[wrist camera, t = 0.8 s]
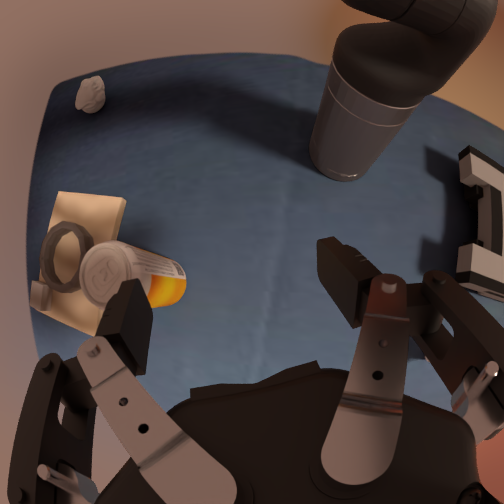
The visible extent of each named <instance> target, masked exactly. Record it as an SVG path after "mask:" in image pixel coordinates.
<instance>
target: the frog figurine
mask: <svg viewBox="0 0 504 504" xmlns="http://www.w3.org/2000/svg"><path fill="white" fill-rule="evenodd" d="M104 87H105V86H104V83H103V81H102V79H101V78H100V77H99V76H95V77H92V78H89V79H85V80H83V81H82V82H81V86H80V89H79V91H78V93H77V97H76V103H75V106H76V108H77V109H78V110H80V109H82V110H83V111H84V112H86V113H95V112H97V111H99V110H100V109H101V108H102V107H103V105H104V103H105V97H106V96H105V92H104V91H103V90H104V89H105V88H104Z"/></svg>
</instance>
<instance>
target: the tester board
mask: <svg viewBox="0 0 504 504" xmlns="http://www.w3.org/2000/svg"><path fill="white" fill-rule="evenodd" d="M125 205H126V200H124V199H123V198H120V197H111V196H102V195H92V194H82V193H71V192H60V191H59V192H58V195H57V199H56V202H55V206H54V209H53V213H52V217H51V220H50V224H49V229H48V233H47V235H46V237H45V238H44V240H43V242H42V247H41V252H40V257H39V261H40V268H41V269H40V275H39V281H32V286H31V295H30V305H29V306H31V307H33V308H35V309H36V310H38V311H40V312H42V313H43V314H45V315H47V316H49V317H52V318H54V319H56V320H58V321H60V322H62V323H64V324H66V325H68V326H71V327H73V328H75V329H77V330H80V331H82V332H84V333H87V334H89V335H92V336H94V337H95V334H96V331H97V328H98V325H99V323H100V320H101V317H102V315H103V312H104V311H103V310H101V309H99V308H97V307H96V306H94V305H93V304H91V303H90V302H89V301H88V300H87V298H86V297H85V296H84V294H83V292H82V289H81V286H80V279H79V273H80V266H81V263H82V260H83V258H84V256H85V255H86V253H87V252H88V251H89V250H90V249H91V248H92V247H93V246H95V245H97V244H100V243H103V242H105V241H109V240H117V236H118V232H119V228H120V224H121V220H122V216H123V212H124V208H125Z"/></svg>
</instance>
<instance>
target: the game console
mask: <svg viewBox="0 0 504 504" xmlns="http://www.w3.org/2000/svg"><path fill="white" fill-rule="evenodd" d="M458 156H459V169H460V182H462V183H464V195H465V200H466V201H468V202H469V207H470V208H472V209H474V210H476V211H478V239H474V240H471V241H468V242H464V243H463V246H461V247H459V251H458V261H457V270H456V277H455V280H456V281H457V282H458V283H459V284H460V285H461V286H463V287H466V288H469V289H472V290H475V291H478V294H480V295H483V296H486V297H490V298H493V299H496V300H499V301H502V302H504V167H502V166H501V165H499V164H498V163H496V162H495V161H494V160H492V159H491V158H489V157H488V156H486V155H485V154H483V153H481V152H480V151H478V150H477V149H475V148H473V147H472V146H470V145H469V146H467V147H466V148H465V149H464V150H462V151H461V152H460V153H459V154H458Z"/></svg>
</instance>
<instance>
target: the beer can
mask: <svg viewBox="0 0 504 504" xmlns="http://www.w3.org/2000/svg"><path fill="white" fill-rule="evenodd" d="M135 278H138V279H139V280H140V282H141V284H142V286H143V289H144V291H145V293H146V296H147V298H148V300H149V303H150V305H151V308H154V307H161V306H168V305H172V304H174V303H176V302H177V301H178V300H179V299H180V298H181V297H182V296H183V294H184V292H185V288H186V276H185V273H184V271H183V269H182V267H181V266H180V265H179V264H178V263H177V262H175V261H174V260H171V259H169V258H166V257H163V256H160V255H157V254H154V253H151V252H148V251H145V250H143V249H140V248H137V247H134V246H131V245H129V244H126V243H123V242H120V241H116V240H109V241H105V242H103V243H100V244H97V245H95V246H93V247H92V248H91V249H90V250H89V251H88V252H87V253H86V255H85V256H84V258H83V260H82V263H81V266H80V273H79V279H80V286H81V289H82V292H83V294H84V296H85V297H86V298H87V300H88V301H89V302H90V303H91V304H93V305H94V306H96V307H97V308H99V309H101V310H103V311H105V307H106V304H107V302H108V301H109V299H110V298H111V297H112V296H113V295H114V294H117V292H118V290H119V287H120V285H121V282H122V281H126V280H130V279H135Z"/></svg>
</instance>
